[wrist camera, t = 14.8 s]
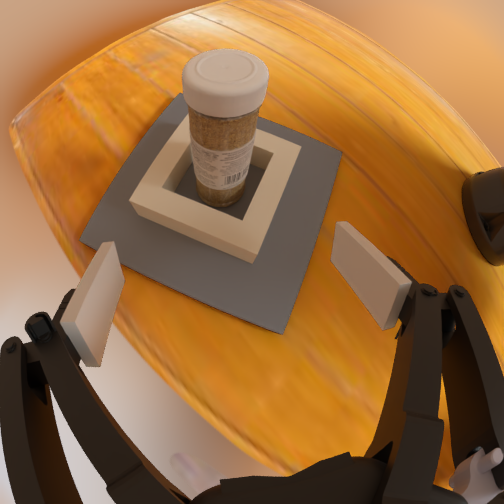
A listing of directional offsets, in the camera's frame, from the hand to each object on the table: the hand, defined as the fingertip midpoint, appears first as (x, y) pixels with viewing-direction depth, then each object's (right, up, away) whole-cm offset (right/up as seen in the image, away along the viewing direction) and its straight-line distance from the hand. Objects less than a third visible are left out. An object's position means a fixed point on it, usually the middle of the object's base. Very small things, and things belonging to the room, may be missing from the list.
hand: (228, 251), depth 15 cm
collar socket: (-2, +6, +10) cm, 12 cm away
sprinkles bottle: (-2, +6, +9) cm, 11 cm away
